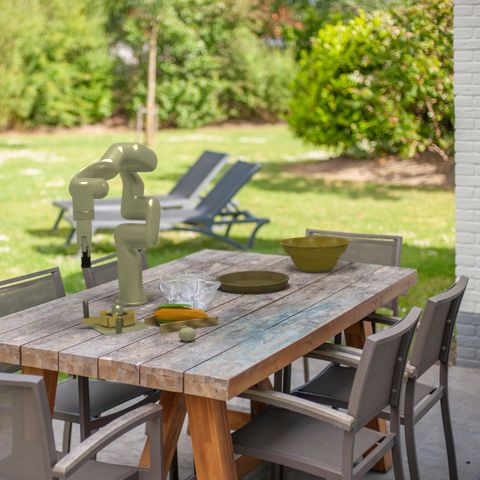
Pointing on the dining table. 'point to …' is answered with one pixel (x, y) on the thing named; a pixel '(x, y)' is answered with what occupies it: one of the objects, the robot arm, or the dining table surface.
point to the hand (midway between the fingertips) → (86, 266)
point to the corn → (177, 313)
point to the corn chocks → (182, 323)
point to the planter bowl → (315, 252)
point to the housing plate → (118, 323)
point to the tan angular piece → (108, 317)
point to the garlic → (187, 334)
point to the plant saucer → (252, 282)
